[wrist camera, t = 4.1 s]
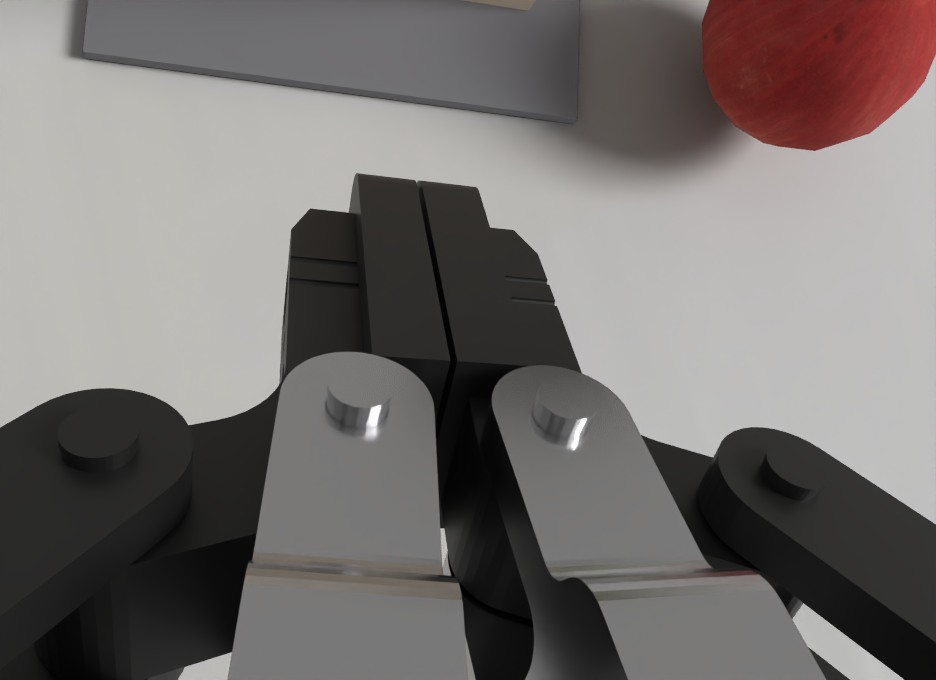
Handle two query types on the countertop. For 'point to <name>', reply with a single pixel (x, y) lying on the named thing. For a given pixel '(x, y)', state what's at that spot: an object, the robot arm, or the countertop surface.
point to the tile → (508, 3)
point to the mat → (360, 48)
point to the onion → (815, 65)
